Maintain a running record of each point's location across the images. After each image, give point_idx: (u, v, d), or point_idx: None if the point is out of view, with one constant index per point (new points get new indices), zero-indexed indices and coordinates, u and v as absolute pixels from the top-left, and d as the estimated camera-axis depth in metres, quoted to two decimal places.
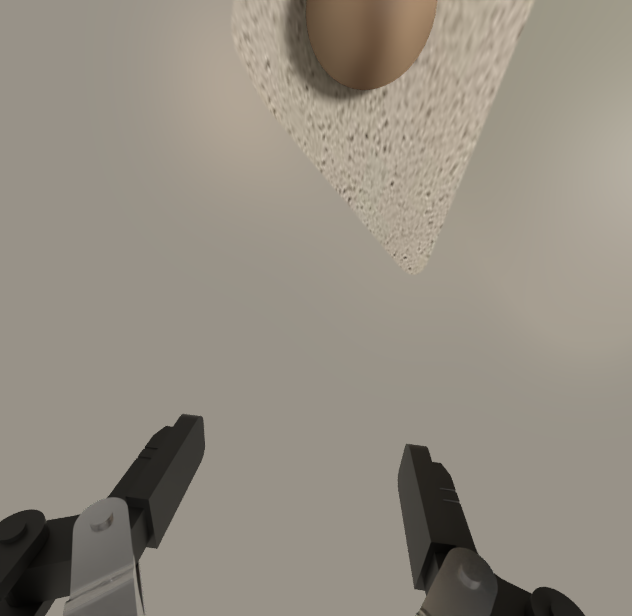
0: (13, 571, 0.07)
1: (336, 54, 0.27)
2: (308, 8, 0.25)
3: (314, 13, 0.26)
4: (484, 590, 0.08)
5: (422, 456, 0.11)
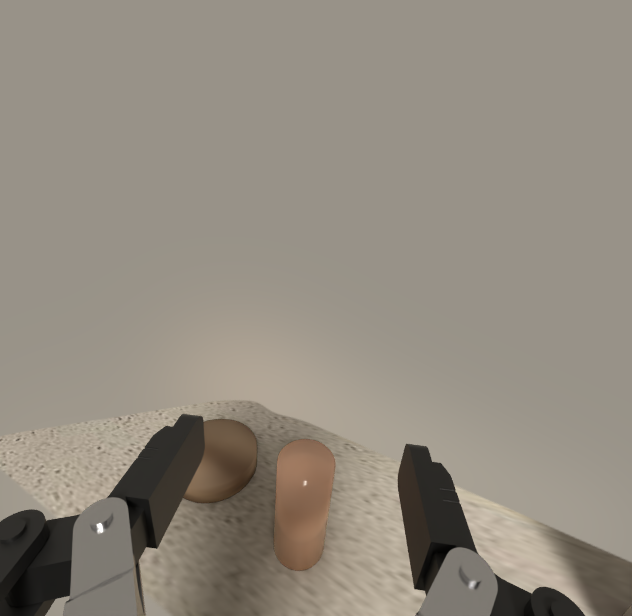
0: (13, 571, 0.07)
1: (210, 428, 0.41)
2: (239, 423, 0.43)
3: (235, 425, 0.42)
4: (484, 590, 0.08)
5: (422, 456, 0.11)
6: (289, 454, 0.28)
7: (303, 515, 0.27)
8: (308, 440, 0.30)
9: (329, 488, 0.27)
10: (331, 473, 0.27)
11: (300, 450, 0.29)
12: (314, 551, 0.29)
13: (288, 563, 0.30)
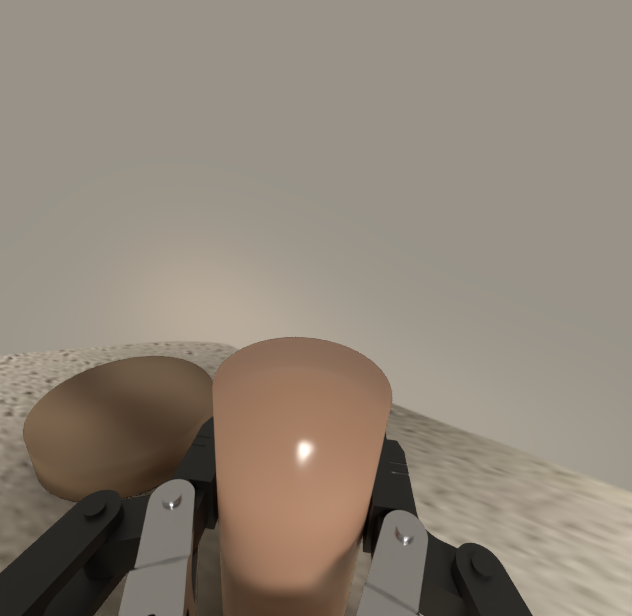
0: (87, 548, 0.08)
1: (133, 367, 0.23)
2: (188, 363, 0.24)
3: (181, 365, 0.24)
4: (414, 544, 0.08)
5: None
6: (255, 362, 0.10)
7: (292, 545, 0.08)
8: (309, 339, 0.11)
9: (375, 458, 0.09)
10: (383, 409, 0.08)
11: (287, 356, 0.10)
12: None
13: None
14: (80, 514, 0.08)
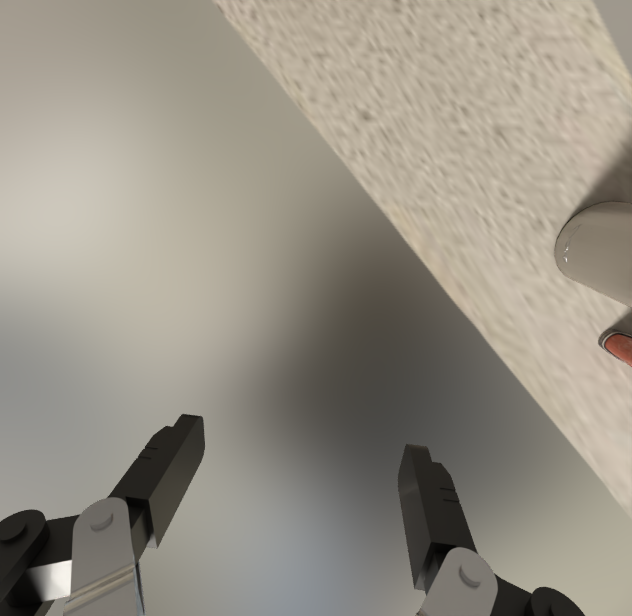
0: (13, 571, 0.07)
1: None
2: None
3: None
4: (484, 590, 0.08)
5: (422, 456, 0.11)
6: None
7: None
8: None
9: None
10: None
11: None
12: None
13: None
14: None
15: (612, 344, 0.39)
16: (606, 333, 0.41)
